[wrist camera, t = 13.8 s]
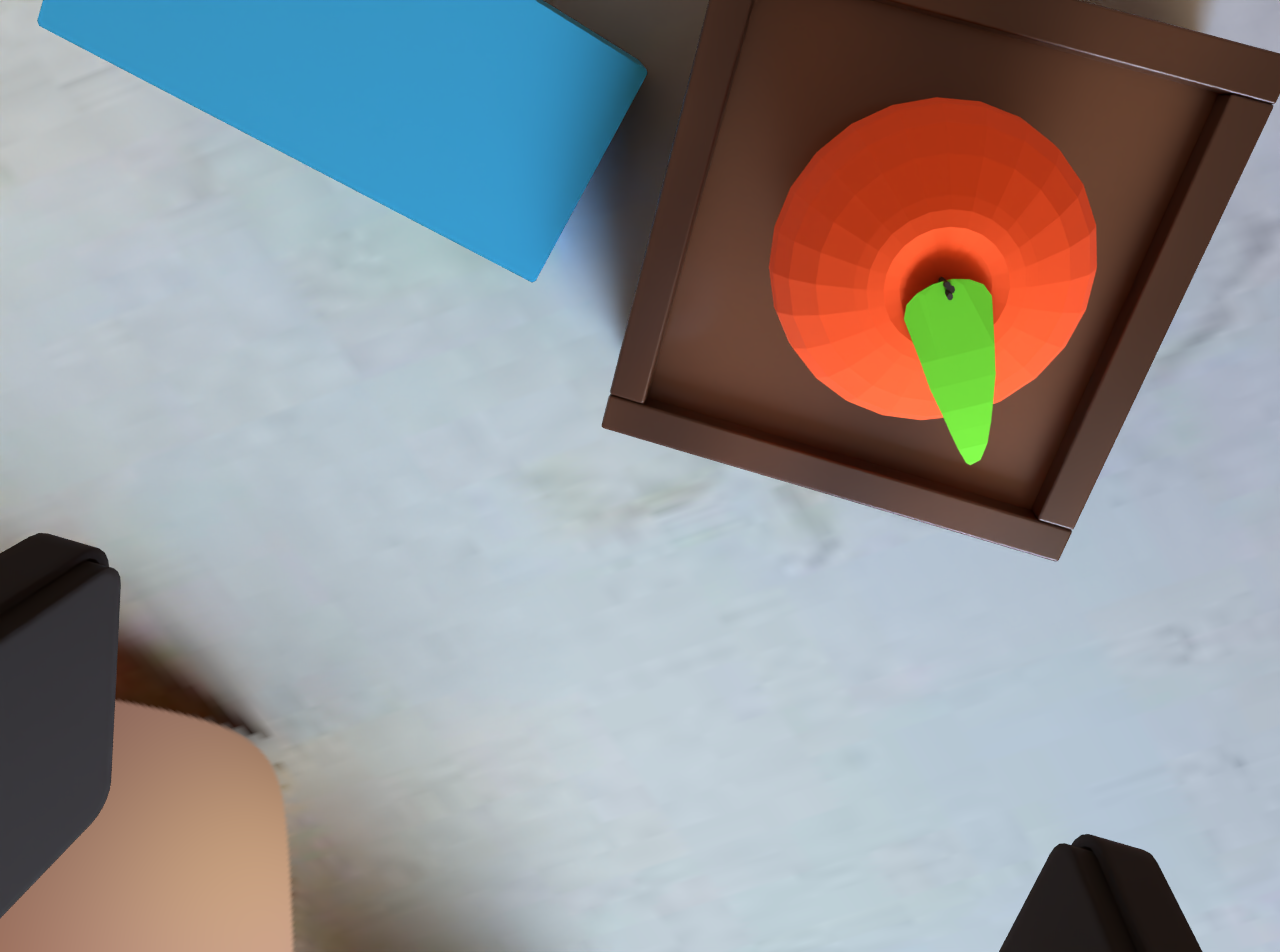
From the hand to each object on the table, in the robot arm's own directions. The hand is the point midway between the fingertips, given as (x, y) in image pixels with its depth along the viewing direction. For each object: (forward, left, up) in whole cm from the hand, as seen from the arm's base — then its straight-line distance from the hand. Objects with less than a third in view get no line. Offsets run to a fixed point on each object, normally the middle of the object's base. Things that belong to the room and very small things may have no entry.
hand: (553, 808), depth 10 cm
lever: (-14, +6, -24) cm, 28 cm away
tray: (+4, +4, -24) cm, 24 cm away
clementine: (+4, +4, -19) cm, 20 cm away
